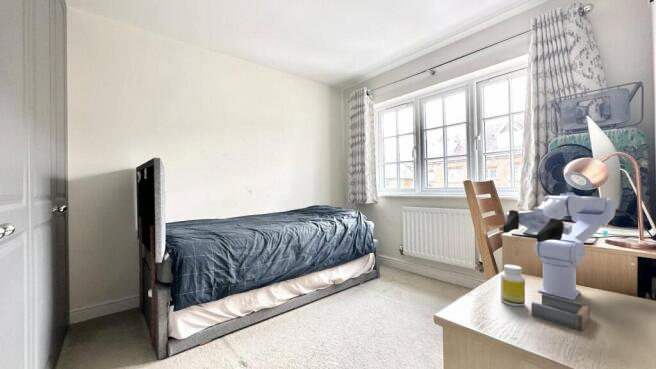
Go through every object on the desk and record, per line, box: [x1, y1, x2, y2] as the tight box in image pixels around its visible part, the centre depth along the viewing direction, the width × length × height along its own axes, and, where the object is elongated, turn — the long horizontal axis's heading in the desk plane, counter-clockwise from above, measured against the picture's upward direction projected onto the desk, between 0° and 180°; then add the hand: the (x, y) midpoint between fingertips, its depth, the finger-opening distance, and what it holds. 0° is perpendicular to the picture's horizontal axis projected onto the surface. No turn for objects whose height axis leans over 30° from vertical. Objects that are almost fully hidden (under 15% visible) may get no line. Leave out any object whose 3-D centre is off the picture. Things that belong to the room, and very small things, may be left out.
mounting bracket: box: [530, 293, 591, 332], centre depth 65 cm, size 9×9×3 cm
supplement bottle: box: [500, 264, 526, 307], centre depth 73 cm, size 5×5×10 cm
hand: (520, 233), depth 69 cm, fingers open, 7 cm apart
